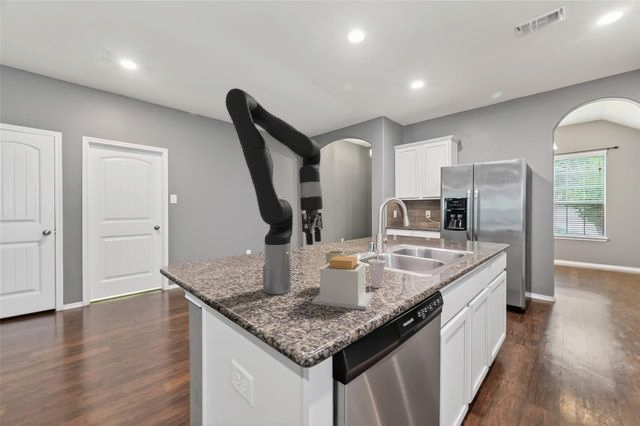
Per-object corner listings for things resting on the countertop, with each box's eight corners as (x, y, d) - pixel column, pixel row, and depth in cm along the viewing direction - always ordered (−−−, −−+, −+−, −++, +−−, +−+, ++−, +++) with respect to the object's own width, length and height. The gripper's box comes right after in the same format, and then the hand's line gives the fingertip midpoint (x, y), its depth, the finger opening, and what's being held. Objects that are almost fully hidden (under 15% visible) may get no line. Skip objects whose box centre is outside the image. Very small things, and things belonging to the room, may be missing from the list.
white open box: (312, 303, 86) (311, 268, 85) (325, 291, 98) (325, 260, 98) (366, 309, 80) (366, 272, 80) (373, 296, 92) (373, 263, 92)
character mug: (349, 289, 100) (348, 254, 99) (330, 291, 98) (329, 255, 98) (340, 281, 110) (339, 249, 110) (323, 283, 109) (322, 250, 108)
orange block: (329, 283, 87) (329, 259, 86) (336, 277, 93) (335, 255, 93) (352, 285, 84) (351, 261, 84) (357, 279, 91) (356, 256, 91)
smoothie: (387, 289, 100) (387, 250, 99) (369, 289, 100) (369, 250, 100) (383, 284, 106) (383, 248, 106) (366, 284, 106) (366, 248, 106)
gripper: (307, 198, 102) (310, 241, 102) (292, 196, 89) (295, 246, 89) (327, 196, 100) (330, 240, 100) (314, 194, 86) (317, 245, 86)
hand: (314, 243), depth 94 cm, fingers open, 8 cm apart
